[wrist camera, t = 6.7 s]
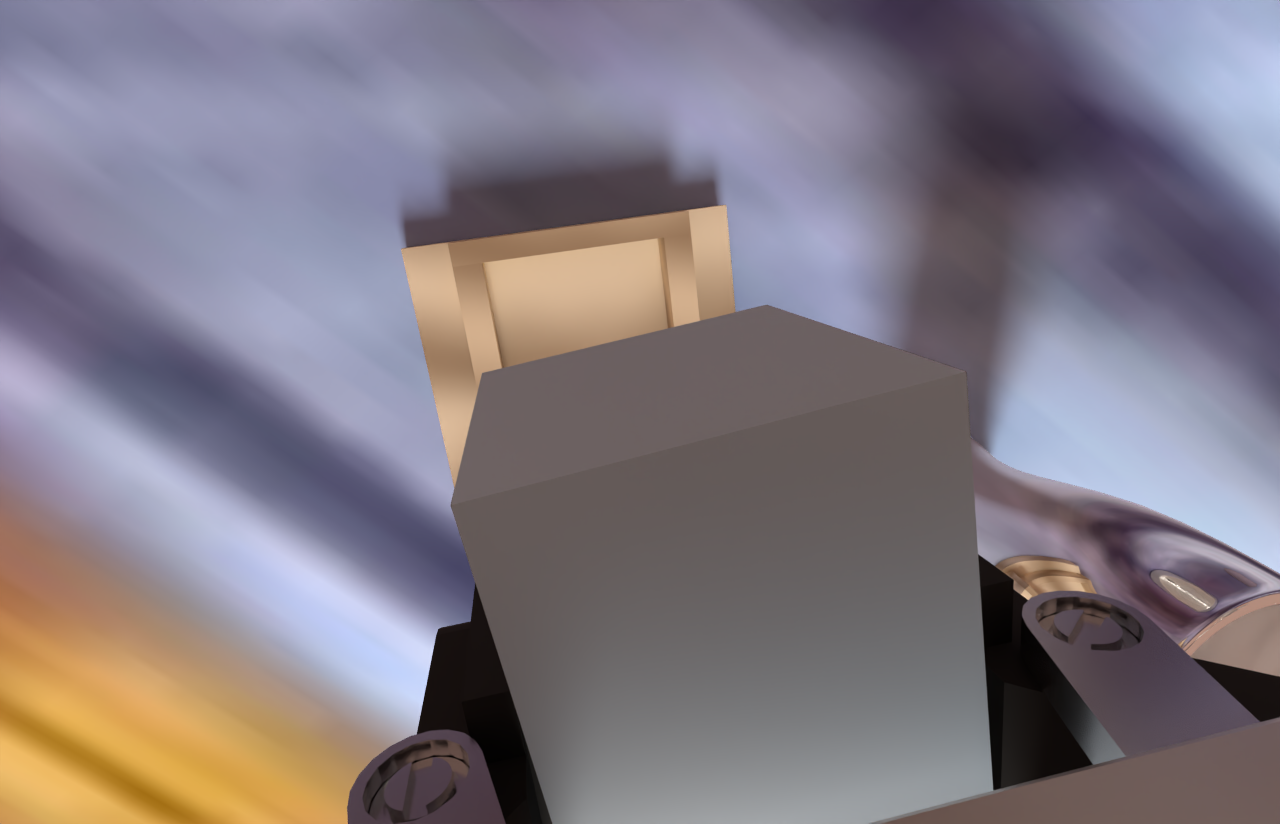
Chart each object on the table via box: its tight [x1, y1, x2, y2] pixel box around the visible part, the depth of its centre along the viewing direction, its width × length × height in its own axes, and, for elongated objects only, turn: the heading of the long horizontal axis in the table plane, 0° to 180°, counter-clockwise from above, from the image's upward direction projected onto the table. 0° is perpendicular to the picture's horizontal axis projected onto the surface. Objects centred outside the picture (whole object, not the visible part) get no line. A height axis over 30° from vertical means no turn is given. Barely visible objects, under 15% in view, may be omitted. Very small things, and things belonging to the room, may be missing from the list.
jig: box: [401, 205, 735, 488], centre depth 27 cm, size 22×12×4 cm, turn 7°
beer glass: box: [971, 438, 1280, 677], centre depth 25 cm, size 7×7×15 cm
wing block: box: [451, 305, 993, 824], centre depth 9 cm, size 8×4×5 cm, turn 12°
